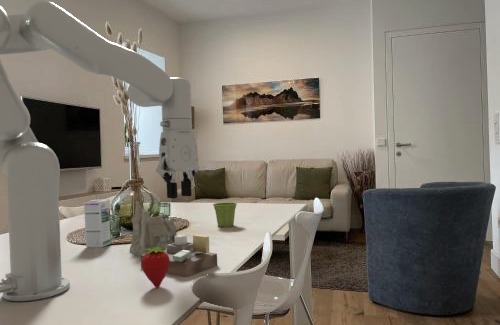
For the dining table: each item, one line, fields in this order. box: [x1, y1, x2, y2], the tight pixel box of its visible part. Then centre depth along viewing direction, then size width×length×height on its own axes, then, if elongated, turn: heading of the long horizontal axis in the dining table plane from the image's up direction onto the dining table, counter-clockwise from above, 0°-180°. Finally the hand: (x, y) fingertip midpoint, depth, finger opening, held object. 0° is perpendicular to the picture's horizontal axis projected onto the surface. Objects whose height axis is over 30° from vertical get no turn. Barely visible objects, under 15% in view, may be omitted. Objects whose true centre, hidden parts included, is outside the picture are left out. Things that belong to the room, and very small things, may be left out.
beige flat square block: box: [192, 234, 210, 253], centre depth 103 cm, size 1×4×4 cm, turn 54°
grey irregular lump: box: [129, 201, 178, 257], centre depth 123 cm, size 16×16×15 cm
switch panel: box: [140, 241, 218, 277], centre depth 103 cm, size 11×16×5 cm
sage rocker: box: [173, 250, 192, 262], centre depth 97 cm, size 4×3×1 cm
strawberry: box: [140, 241, 170, 288], centre depth 87 cm, size 6×8×10 cm
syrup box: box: [83, 198, 113, 249], centre depth 130 cm, size 6×6×14 cm
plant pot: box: [212, 201, 238, 228], centre depth 158 cm, size 9×9×9 cm
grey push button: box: [175, 234, 188, 247], centre depth 106 cm, size 3×3×3 cm
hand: (179, 196), depth 106 cm, fingers open, 4 cm apart
